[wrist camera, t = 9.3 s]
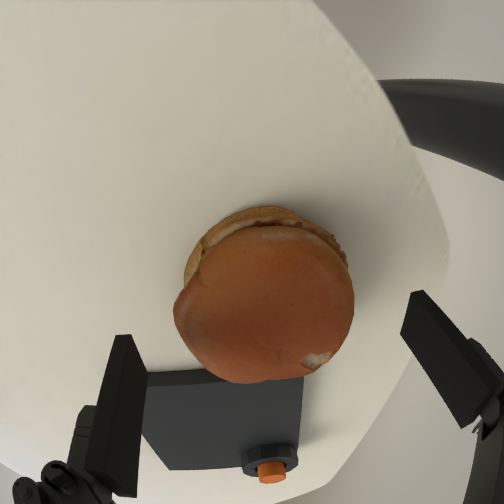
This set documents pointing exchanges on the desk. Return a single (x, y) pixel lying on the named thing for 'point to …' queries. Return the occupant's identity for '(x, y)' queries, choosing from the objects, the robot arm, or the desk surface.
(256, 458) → the scale
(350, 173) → the desk surface
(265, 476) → the button
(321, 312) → the burger
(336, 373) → the desk surface
